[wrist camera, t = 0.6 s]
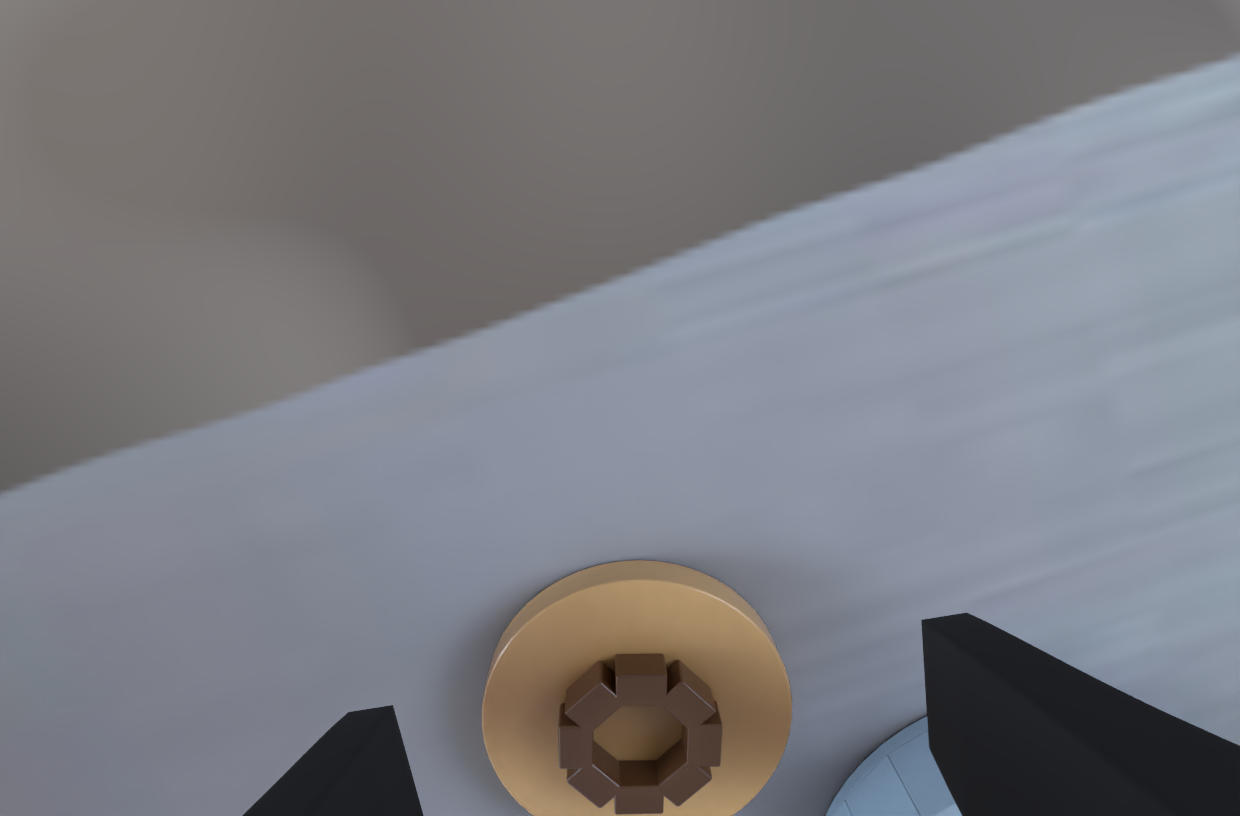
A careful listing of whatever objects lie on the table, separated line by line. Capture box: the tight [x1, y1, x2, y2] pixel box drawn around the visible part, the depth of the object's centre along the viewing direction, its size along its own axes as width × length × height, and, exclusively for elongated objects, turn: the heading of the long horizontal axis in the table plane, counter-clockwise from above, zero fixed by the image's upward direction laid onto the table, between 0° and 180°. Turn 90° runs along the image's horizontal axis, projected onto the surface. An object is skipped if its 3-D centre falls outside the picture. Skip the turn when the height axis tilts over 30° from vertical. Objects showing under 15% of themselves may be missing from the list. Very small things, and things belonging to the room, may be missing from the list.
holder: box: [481, 560, 792, 816], centre depth 20 cm, size 8×8×2 cm
